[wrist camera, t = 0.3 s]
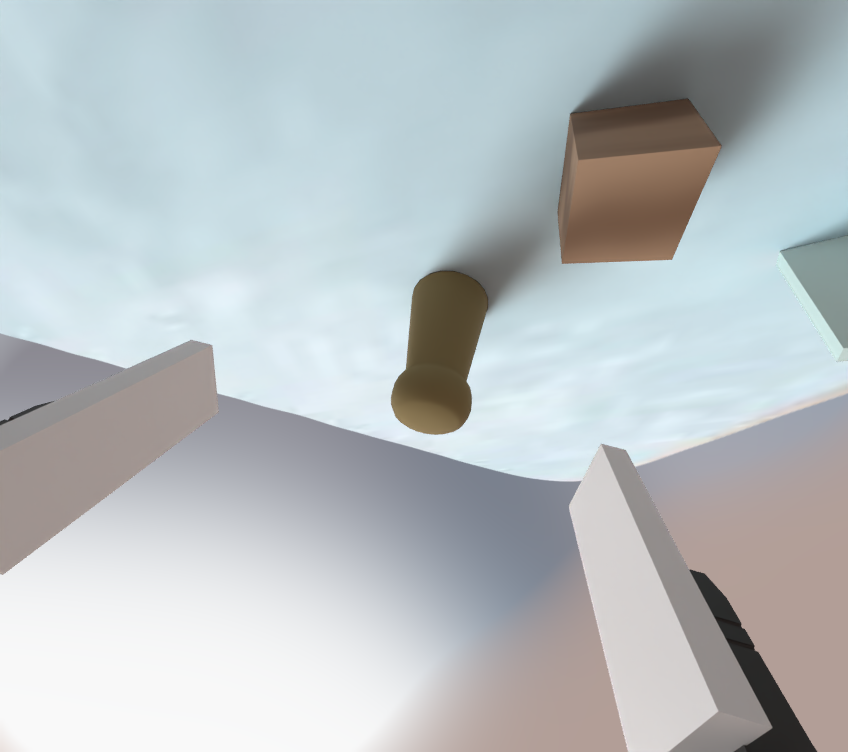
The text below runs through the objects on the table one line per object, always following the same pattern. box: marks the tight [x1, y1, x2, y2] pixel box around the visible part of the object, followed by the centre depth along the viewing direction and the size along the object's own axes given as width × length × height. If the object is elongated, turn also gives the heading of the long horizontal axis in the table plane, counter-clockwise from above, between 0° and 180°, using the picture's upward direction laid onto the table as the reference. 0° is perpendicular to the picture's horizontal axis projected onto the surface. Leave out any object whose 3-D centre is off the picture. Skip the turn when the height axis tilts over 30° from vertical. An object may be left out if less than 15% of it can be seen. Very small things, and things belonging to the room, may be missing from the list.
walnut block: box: [558, 99, 721, 264], centre depth 17 cm, size 5×5×5 cm
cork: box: [391, 271, 488, 435], centre depth 25 cm, size 6×6×11 cm
